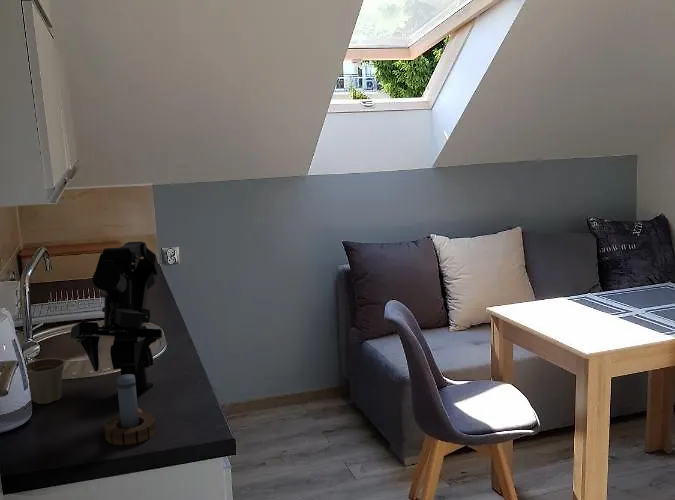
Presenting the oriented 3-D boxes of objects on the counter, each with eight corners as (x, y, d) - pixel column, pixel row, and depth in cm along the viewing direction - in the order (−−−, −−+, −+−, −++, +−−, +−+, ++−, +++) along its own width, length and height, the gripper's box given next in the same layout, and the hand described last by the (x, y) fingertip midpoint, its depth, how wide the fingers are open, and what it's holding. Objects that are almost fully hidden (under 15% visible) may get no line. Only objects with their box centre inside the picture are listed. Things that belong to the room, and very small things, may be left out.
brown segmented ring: (122, 421, 150) (121, 410, 149) (164, 425, 147) (163, 414, 147) (96, 442, 140) (95, 431, 140) (140, 447, 138) (139, 435, 137)
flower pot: (64, 388, 170) (60, 355, 169) (72, 400, 162) (68, 366, 161) (23, 397, 165) (19, 363, 164) (29, 410, 157) (25, 375, 156)
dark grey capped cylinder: (121, 432, 145) (115, 375, 143) (139, 428, 146) (134, 372, 144) (122, 439, 142) (117, 381, 139) (141, 435, 143) (135, 378, 140)
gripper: (90, 289, 142) (88, 365, 138) (172, 296, 154) (173, 366, 150) (70, 301, 151) (68, 373, 146) (150, 307, 162) (151, 374, 158)
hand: (117, 371), depth 150 cm, fingers open, 9 cm apart
